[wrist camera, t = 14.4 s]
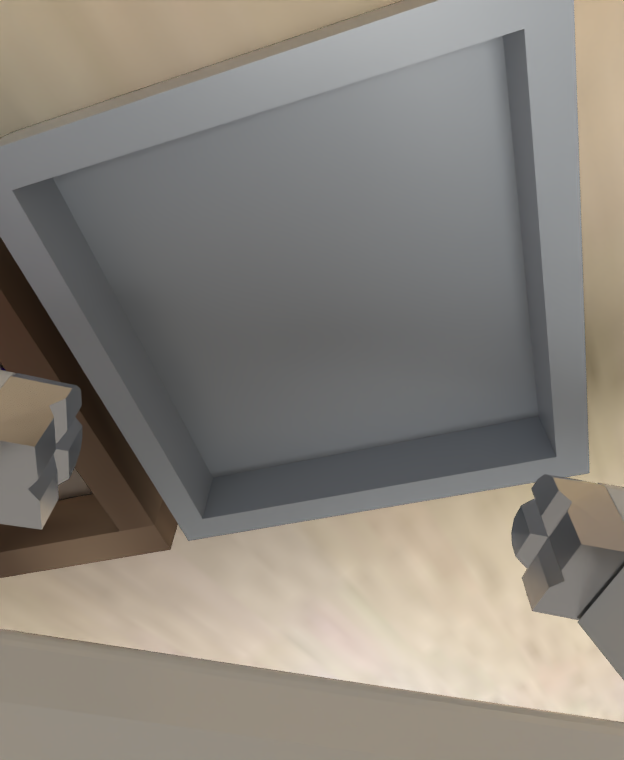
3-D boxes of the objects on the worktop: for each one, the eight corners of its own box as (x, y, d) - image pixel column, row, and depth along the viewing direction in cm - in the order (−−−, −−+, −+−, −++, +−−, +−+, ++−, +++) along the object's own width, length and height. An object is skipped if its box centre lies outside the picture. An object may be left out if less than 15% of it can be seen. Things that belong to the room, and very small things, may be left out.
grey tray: (204, 481, 20) (188, 540, 18) (12, 132, 14) (-46, 161, 11) (560, 414, 18) (589, 473, 16) (530, -43, 11) (572, -45, 9)
